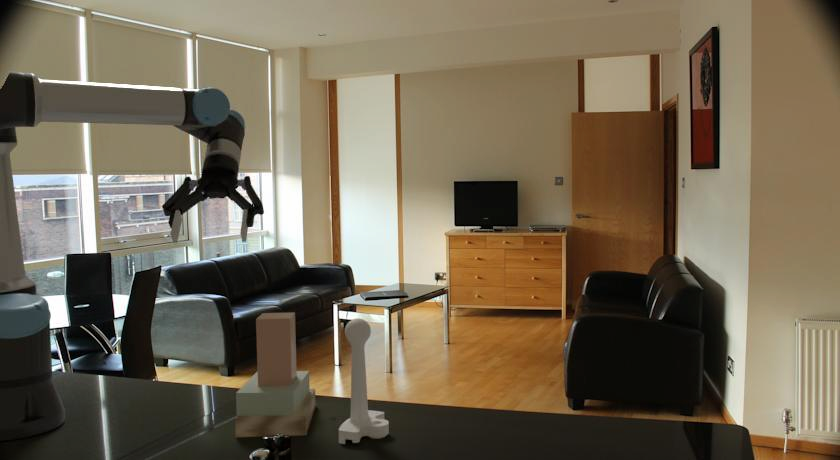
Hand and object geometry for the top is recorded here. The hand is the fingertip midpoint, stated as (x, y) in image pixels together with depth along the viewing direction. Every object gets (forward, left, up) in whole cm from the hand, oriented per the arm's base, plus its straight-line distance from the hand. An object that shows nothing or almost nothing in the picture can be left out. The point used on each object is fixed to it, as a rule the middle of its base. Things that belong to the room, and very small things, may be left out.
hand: (208, 238), depth 140 cm
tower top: (+14, -15, -29) cm, 36 cm away
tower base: (+15, -15, -33) cm, 39 cm away
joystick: (+31, -24, -33) cm, 51 cm away
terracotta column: (+15, -15, -25) cm, 33 cm away
